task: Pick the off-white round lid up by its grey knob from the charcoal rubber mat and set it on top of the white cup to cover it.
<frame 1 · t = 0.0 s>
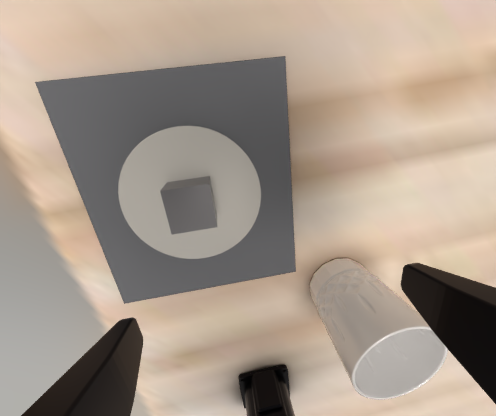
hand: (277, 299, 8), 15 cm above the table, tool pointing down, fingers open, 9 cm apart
white cup: (335, 280, 27), on the table
charcoal mat: (193, 195, 21), on the table
lid: (193, 197, 21), resting on charcoal mat
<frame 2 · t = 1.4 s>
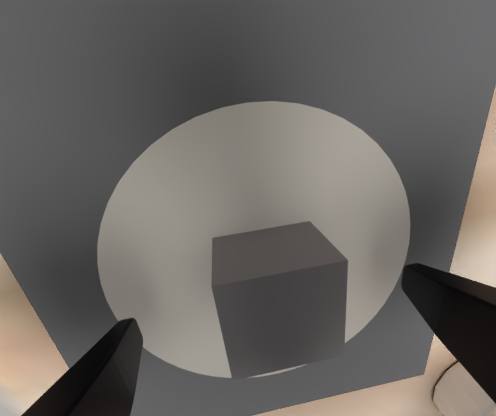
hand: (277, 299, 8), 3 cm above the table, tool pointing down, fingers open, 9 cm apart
white cup: (473, 376, 16), on the table
charcoal mat: (261, 255, 10), on the table
lid: (263, 261, 10), resting on charcoal mat
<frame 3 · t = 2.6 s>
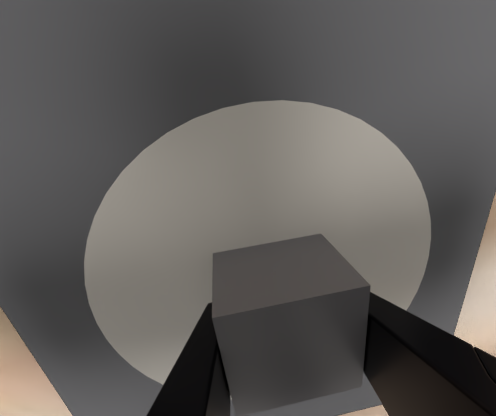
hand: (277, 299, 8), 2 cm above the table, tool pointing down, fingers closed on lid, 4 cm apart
charcoal mat: (265, 268, 9), on the table
lid: (268, 276, 9), point 1 cm above the table, touching charcoal mat, gripper
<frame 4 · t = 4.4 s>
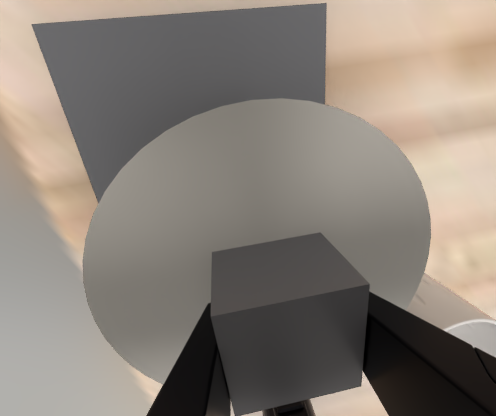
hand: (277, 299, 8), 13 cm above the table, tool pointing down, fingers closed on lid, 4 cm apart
white cup: (362, 271, 25), on the table
charcoal mat: (213, 170, 18), on the table
lid: (268, 275, 9), point 11 cm above the table, touching gripper
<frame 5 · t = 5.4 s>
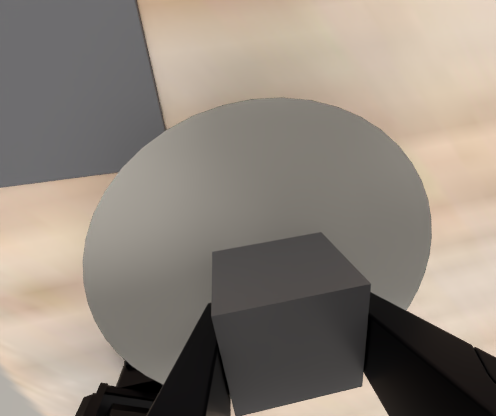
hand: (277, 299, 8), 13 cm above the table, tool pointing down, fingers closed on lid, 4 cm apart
lid: (268, 275, 9), point 12 cm above the table, touching gripper
when the fingers open (12 cm above the table, at t = 6.3 s): lid drops 1 cm, resting on white cup.
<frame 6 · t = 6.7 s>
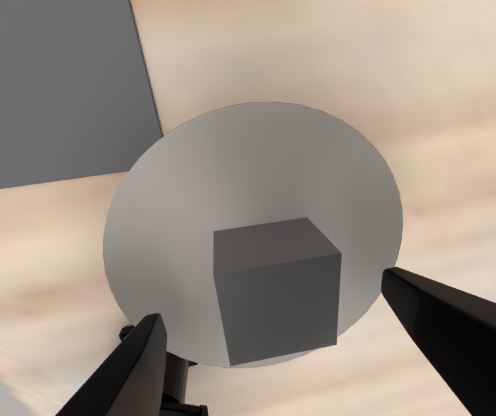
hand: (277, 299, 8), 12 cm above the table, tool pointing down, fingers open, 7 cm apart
lid: (261, 256, 10), point 10 cm above the table, touching white cup
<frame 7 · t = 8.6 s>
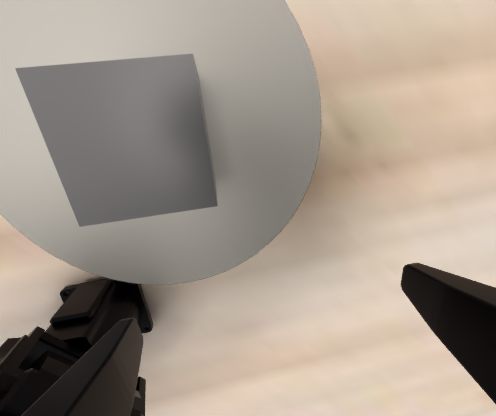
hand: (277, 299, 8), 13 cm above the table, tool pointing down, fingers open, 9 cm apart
lid: (159, 139, 8), point 10 cm above the table, touching white cup
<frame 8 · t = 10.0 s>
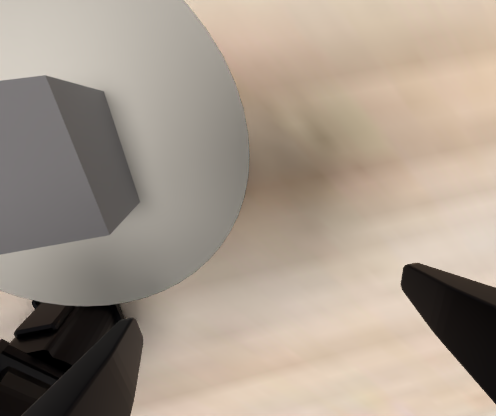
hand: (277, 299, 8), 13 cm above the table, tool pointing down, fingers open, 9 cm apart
lid: (76, 157, 8), point 10 cm above the table, touching white cup
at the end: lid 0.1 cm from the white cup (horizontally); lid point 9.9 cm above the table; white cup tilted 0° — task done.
